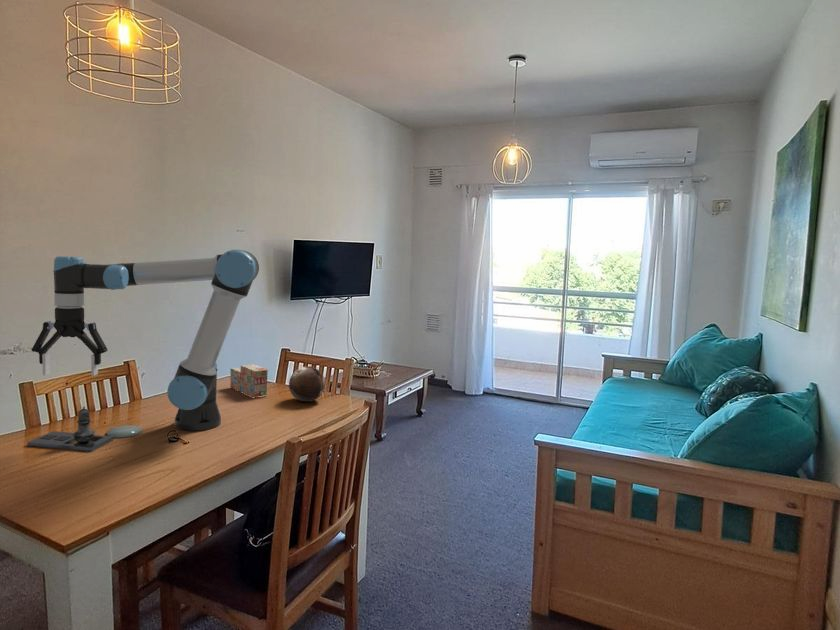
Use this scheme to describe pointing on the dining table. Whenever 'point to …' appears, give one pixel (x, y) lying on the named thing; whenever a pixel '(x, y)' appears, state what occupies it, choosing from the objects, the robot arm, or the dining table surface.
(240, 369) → the stack of blocks
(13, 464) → the dining table surface
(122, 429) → the coaster
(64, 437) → the grey compartment tray
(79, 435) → the dark grey chess piece
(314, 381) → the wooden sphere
